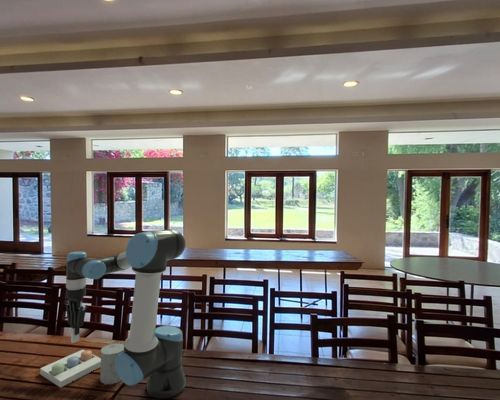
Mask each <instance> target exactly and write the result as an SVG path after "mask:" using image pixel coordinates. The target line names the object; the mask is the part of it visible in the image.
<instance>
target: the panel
mask: <svg viewBox="0 0 500 400" xmlns="http://www.w3.org/2000/svg"><path fill="white" fill-rule="evenodd" d="M84 351H86V350H84V349H80V350H79V351H76V352H74V353H71V354H70V355H67V356H65V357H63V358H61V359H58V360H57V361H53V362H51V363H49V364H47V365H45V366H43V367H40V368H39V375H40V376H42V377H43V378H45V379H46V380H48V381H49V382H51V383H53V384H54V385H56V386H57V387H59V388H63V387H65V386H67V385H68V384H70V383H73V382H74V381H76V380H78V379H80V378H82V377H85V376H86V375H88V374H90V373H91V371H92V372H93V370H94V371H95V370H97V369H99V368H101V357H99V356H97V355H95V354H94V353H92V358H91V359H89V360H87V361H85V362H83V361H81V353H82V352H84ZM73 356H77V357H79V365H77V366H75V367H73V368H71V369H69V368H68V367H67V359H68V358H70V357H73ZM57 363H64V372H62V373H60V374H58V375H56V376H53V375H52V366H53V365H55V364H57ZM72 381H73V382H72Z"/></svg>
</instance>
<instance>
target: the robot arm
mask: <svg viewBox="0 0 500 400" xmlns="http://www.w3.org/2000/svg"><path fill="white" fill-rule="evenodd" d="M185 249H186V238H185V237H184V235H183V234H182V233H181V232H179V231H178V230H177V229H170V228H169V229H167V228H166V229H162V230H161V229H160V230H159V229H158V230H151V231H150V230H146V231H142V232H138V233H135V234H134V235H133V236H132V237H130V239H129V240H128V242H127V245H126V248H125V251H123V252H120V253H117V254H113V255H109V256H104V257H103V256H101V257H97V258H88V255H87V253H86V251H71V252H68V254H66V260H65V261H66V262H65V263H66V264H65V266H66V267H65V269H66V273H65V275H66V277H65V282H66V283H65V288H66V290H65V298H66V299H68V300H66V301H64V305H65V309H66V318H67V324H68V325H69V327H70V332H71V333H70V342H71V343H72V344H74V343H76V342H79V341H80V329H81V328H80V327H82V326H84V324H85V323H84V322H85V315H86V311H87V308H88V305H87V304H84V297H85V296H86V295H87V287H86V286H87V279H90V280H99V279H100V278H102V277H103V276H104V275H108V274H112V273H116V272H122V271H127V270H129V269H130V268H131V271H132V272H133V273H135V279H134V287H133V288H134V290H133V297H132V309H131V319H130V329H129V336H128V337H127V338H126V339H125V341H124V342H123V344H124V351H123V352H121V353H119V355H117V357H116V359H115V368H116V371H117V374H118V376H119V377H120V379H121V382H123V383H124V384H125V385H127V386H135V385H137V384H138V383H140V382H143V381H145V379H146V378H148V379H147V381H146V392H147V394H148V395H149V396H150V397H153V398H155V399H169V398H173V397H175V396H177V395H178V394H180V393H181V392H183V391H184V389H185V387H186V380H187V379H186V374H185V371H184V368H183V367H184V366H183V364H182V362H183V342H184V339H183V331H182V330H181V329H180V328H179V327H177V326H171V325H163V326H162V325H161V326H158V327H156V326H157V316H158V307H159V300H160V299H159V296H160V289H161V280H162V274H163V273H164V272H166V270H167V264H168V263H167V262H168V261H172V260H176V259H178V258H179V257H180V256H181V255H182V254H183V253H184V251H185Z"/></svg>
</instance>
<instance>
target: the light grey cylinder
mask: <svg viewBox="0 0 500 400" xmlns="http://www.w3.org/2000/svg"><path fill="white" fill-rule="evenodd" d="M123 351H124V342H123V343H122V342H112V343H107V344H106V345H104V346H102V347H101V349H100V358H101V367H100V374H99V376H100V378H99V381H101V382H102V383H104V384H103V385H106V384H109V385H114V383H115V384H117V383H119V382H122V380H121V379H120V377H119V376H118V374H117V371H116V368H115V359H116V357H117V355H119V353H121V352H123ZM101 382H100V383H101ZM102 383H101V384H102Z"/></svg>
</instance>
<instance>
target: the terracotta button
mask: <svg viewBox="0 0 500 400" xmlns="http://www.w3.org/2000/svg"><path fill="white" fill-rule="evenodd" d="M92 354H93V350H91V349H90V350H89V349H88V350H85V351H84V352H82V353H81V361H83V362H85V361H87V360H89V359H91V358H92Z"/></svg>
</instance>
